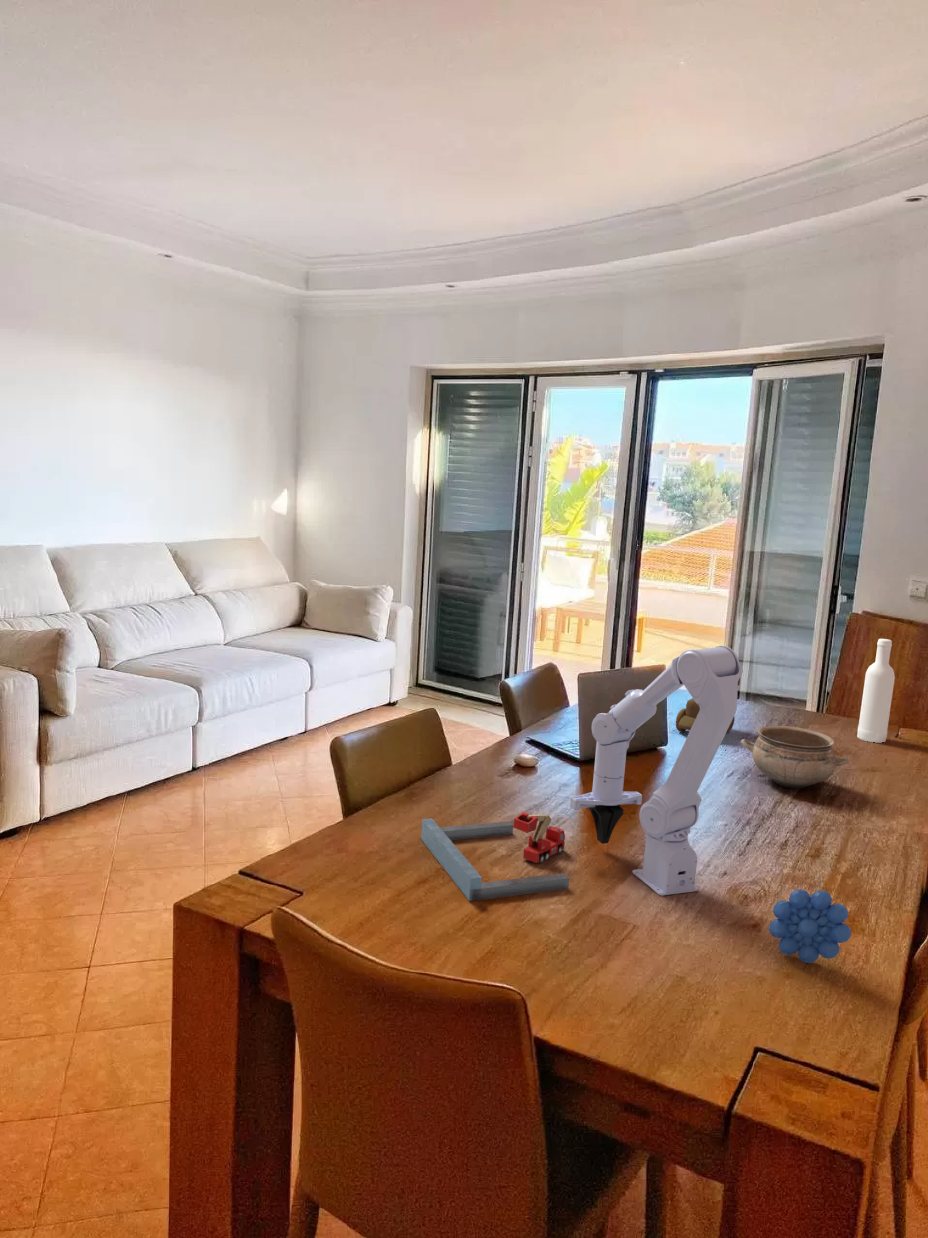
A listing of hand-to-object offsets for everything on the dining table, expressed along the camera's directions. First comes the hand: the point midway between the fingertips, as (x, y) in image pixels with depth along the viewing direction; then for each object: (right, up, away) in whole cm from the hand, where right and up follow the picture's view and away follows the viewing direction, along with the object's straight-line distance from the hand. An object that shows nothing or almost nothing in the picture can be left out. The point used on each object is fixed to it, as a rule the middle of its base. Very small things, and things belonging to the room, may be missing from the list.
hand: (602, 841), depth 172 cm
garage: (-22, -2, -8) cm, 23 cm away
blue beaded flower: (+26, -10, -35) cm, 45 cm away
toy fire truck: (-13, -2, -4) cm, 14 cm away
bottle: (+94, +7, +92) cm, 132 cm away
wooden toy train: (+44, +10, +89) cm, 99 cm away
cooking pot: (+53, +2, +47) cm, 71 cm away
